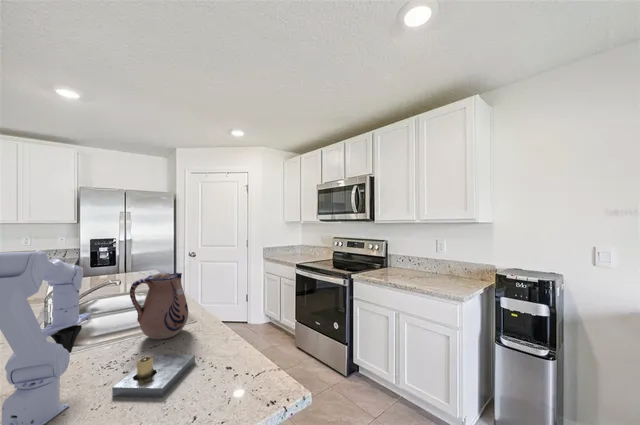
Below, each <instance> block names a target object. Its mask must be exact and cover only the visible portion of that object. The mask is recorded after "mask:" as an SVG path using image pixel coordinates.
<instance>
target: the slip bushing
mask: <svg viewBox="0 0 640 425" xmlns="http://www.w3.org/2000/svg"><path fill="white" fill-rule="evenodd" d="M136 369H137V381H144V380H147V379H150V378H152V377H153V357H152V355H151V356H149V355H148V356H143V357H141V358H139V359H137V361H136Z"/></svg>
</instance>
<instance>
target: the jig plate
mask: <svg viewBox="0 0 640 425" xmlns="http://www.w3.org/2000/svg"><path fill="white" fill-rule="evenodd" d="M151 357H153V377H152V378H150V379H147V380H144V381H137V368H135V369H134V370H133V371H132V372H131V371H130V373H129V374H127V375H126V376H125V377H124V378H122V379H121V380H119V382H118V383H116V384H115V385H113V387H112V389H111V390H112V394H111V396H112V398H113V397H115V398H116V397H119V398H120V397H121V398H157V397H158V398H163V397H165V395H167V393H169V391H170V390H171V388H173V387H174V386H175V385H176V383H178V381H180V379H181V378H182V377H183V376H184V375H185V374H186V373H187V372H188V370H189V369H190V368H191V367H192V366H193V365H194V364H195V363H196V354H171V353H169V354H163V353H161V354H159V353H158V354H157V353H155V354H153V355H151ZM172 386H173V387H172Z"/></svg>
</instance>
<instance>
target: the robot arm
mask: <svg viewBox="0 0 640 425" xmlns="http://www.w3.org/2000/svg"><path fill="white" fill-rule="evenodd" d="M83 279H84V271H83V267H82V266H79V265H78V264H75V265H74V264H73V265H71V264H69V262H66V261H62V260H61V258H60V257H54V258H51V259H49V258H48V254H47V252H46V251H45V252H44V251H43V250H40V249H39V250H38V249H37V250H35V251H34V250H33V251H13V252H12V251H11V252H10V251H9V252H0V331H1V334H2V335H3V337H4V339H5V340H6V342H7V344H8V345H9V347H10V348H11V350H12V352H13V353H12V354H11V355H10V356H9V357H8V359H7V362H6V364H5V365H4V370H5V372H6V377H5V378H6V380H7V383H8V384H9V385H14V386H13V389H14V390H15V391H14V392H13V393H11V394H10V395H9V396H8V397H7V398H5V399H4V401H3V403H2V405H1V425H45V424H47V423H48V422H50V421H51V420H52V419H54V418H55V417H56V416H57V415H59V414H61V413H62V412H63V411H64V410H66V409H67V408H68V407H70V403H61V402H60V401H61V399H60V398H61V397H60V396H61V376H63V374H64V373H65V372H66V371H67V369H68V367H69V365H70V357H71V356H70V353H72V350H73V347H74V345H75V342H76V339H77V336H78V335H79V334H80V332H81V330H82V327H83V326H82V325H81V324H82V323H83V322H85V321H90V320H91V319H92V312H84V313H82V314H80V290H81V289H82V283H83ZM44 281H45V282H47V283H48V285H49V287H51V288H52V323H51V324H49V325H47V326H46V327H44V328H42V327H41V325H40V323H39V321H38V319H37V317H36V315H35V313H34V310H33V308H32V306H31V305H30V303H29V300H28V298H30V297H32V296H34V295H36V294H38V293H39V292H40V288H41V287H42V284H43V282H44ZM48 337H51V338H52V339H53V341H54V342H50V341H48V340H47V338H48Z"/></svg>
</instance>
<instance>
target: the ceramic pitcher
mask: <svg viewBox="0 0 640 425" xmlns="http://www.w3.org/2000/svg"><path fill="white" fill-rule="evenodd" d="M182 276H183V273H182V272H174V273H170V272H159V273H156V274H151V275H148V276H147V277H145V278H140V279H138V280H136V281H134V282H133V283H132V284H131V286H130V288H129V297H130V299H131V302H132V304H133V306H134V308H135V310H136V313H137V319H136V320H137V322H138V323H139V326H140V330H141V332H142V333H143V334H144V335H145V336H146V337H148V338H150V339H152V340H159V341H160V340H164V339H170V338H172V337H174V336H176V335H177V334H179V333H181V331H182V330H183V328H184V327H185V325H186V324H187V322H188V318H189V308H188V302H187V298H186V295H185V292H184V289H183V288H184V287H183V285H182ZM142 284H146V285H147V287H148V291H147V293H146V297H145V299H144V302H143V304H142V306H141V305H140V303H139V301H138V300H137V298H136V294H135V293H136V289H137V287H139V285H142Z"/></svg>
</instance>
